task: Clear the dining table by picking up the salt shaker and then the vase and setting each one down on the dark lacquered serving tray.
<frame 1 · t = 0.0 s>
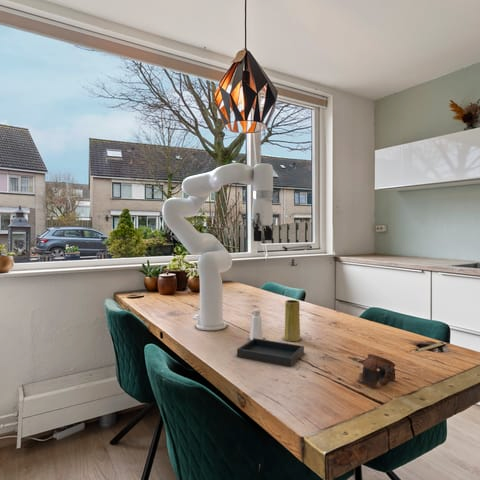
hand: (263, 240, 139), 37 cm above the table, tool pointing down, fingers open, 9 cm apart
tray: (270, 354, 119), on the table
vase: (292, 339, 135), on the table
salt shaker: (256, 339, 136), on the table
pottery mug: (378, 383, 98), on the table
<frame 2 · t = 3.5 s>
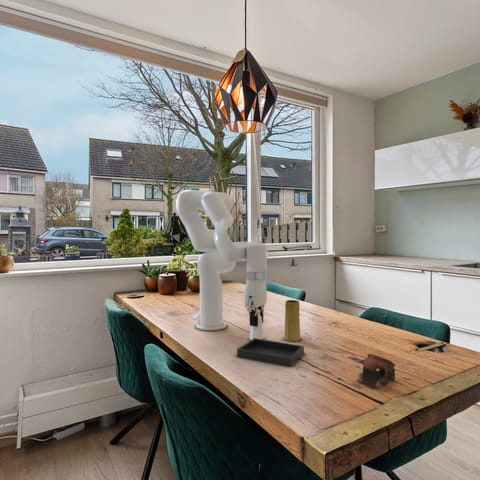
hand: (256, 323, 135), 6 cm above the table, tool pointing down, fingers closed on salt shaker, 4 cm apart
salt shaker: (256, 339, 136), on the table, touching gripper
everything else where it was.
when the fingers open (9 cm above the table, at t = 22.2 s): salt shaker stays where it is, resting on tray.
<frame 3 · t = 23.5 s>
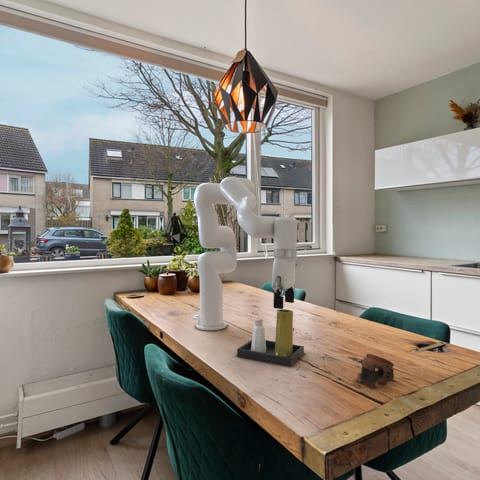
hand: (284, 305, 120), 16 cm above the table, tool pointing down, fingers open, 9 cm apart
vase: (283, 355, 117), point 1 cm above the table, touching tray
salt shaker: (258, 351, 121), resting on tray
everything else where it was.
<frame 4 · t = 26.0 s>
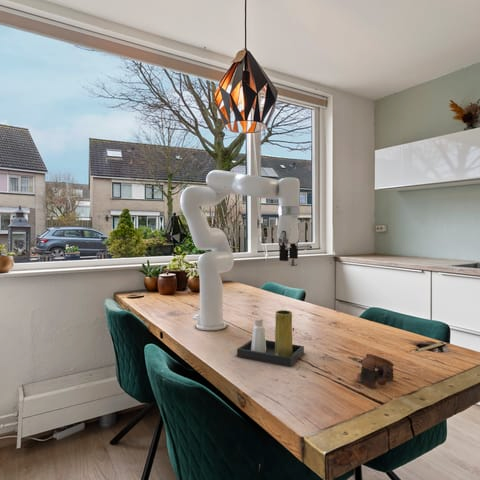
hand: (288, 259, 131), 30 cm above the table, tool pointing down, fingers open, 9 cm apart
at the end: salt shaker inside the target area in the tray (4.5 cm from its centre), point 0.3 cm above the tray's base; vase inside the target area in the tray (4.5 cm from its centre), point 0.3 cm above the tray's base; vase tilted 0° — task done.
